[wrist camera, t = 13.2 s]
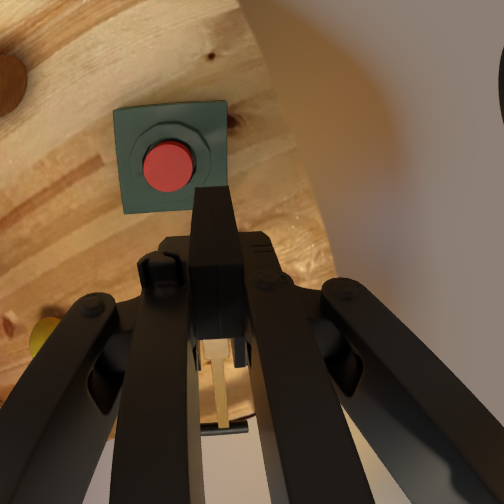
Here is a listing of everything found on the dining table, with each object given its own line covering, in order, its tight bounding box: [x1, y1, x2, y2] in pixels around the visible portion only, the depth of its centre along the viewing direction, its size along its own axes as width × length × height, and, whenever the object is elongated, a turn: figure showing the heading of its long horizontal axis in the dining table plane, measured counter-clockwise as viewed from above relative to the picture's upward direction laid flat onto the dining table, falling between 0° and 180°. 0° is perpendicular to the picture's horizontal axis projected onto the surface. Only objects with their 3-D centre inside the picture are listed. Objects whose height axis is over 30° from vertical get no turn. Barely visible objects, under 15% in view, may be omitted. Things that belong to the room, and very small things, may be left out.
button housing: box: [113, 100, 227, 214], centre depth 27 cm, size 10×10×4 cm
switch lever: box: [200, 339, 248, 436], centre depth 29 cm, size 13×5×2 cm, turn 179°
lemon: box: [29, 317, 61, 358], centre depth 33 cm, size 6×6×8 cm
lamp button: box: [143, 141, 193, 192], centre depth 25 cm, size 4×4×2 cm
